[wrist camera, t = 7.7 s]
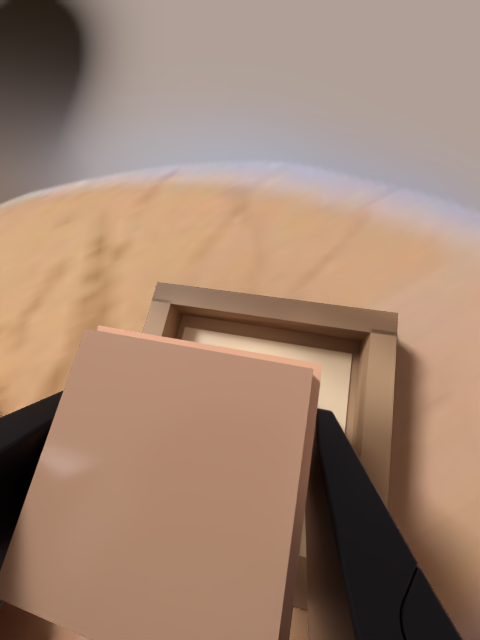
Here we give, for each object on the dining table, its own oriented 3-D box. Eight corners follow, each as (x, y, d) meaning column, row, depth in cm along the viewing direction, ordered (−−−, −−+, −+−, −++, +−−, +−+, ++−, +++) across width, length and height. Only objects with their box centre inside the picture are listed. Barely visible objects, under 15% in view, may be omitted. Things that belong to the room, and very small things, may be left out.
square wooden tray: (370, 624, 13) (391, 676, 10) (101, 530, 15) (67, 553, 13) (388, 328, 16) (406, 314, 14) (168, 297, 19) (151, 281, 17)
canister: (285, 491, 14) (280, 746, 4) (192, 465, 15) (-24, 606, 5) (299, 390, 15) (327, 358, 5) (212, 373, 16) (80, 317, 6)
